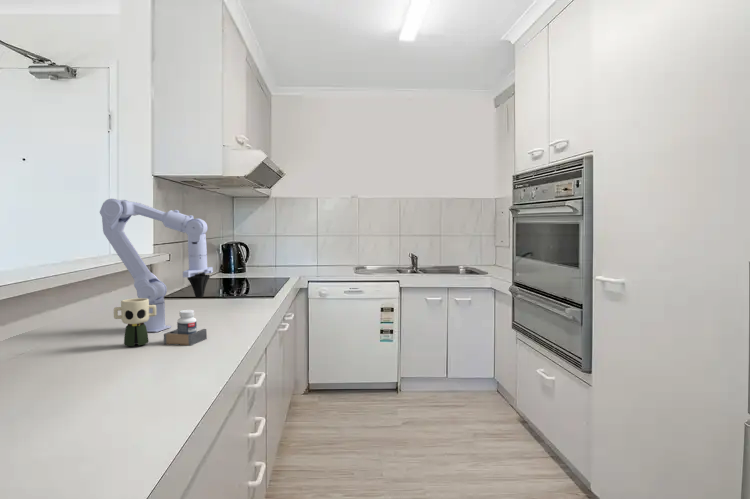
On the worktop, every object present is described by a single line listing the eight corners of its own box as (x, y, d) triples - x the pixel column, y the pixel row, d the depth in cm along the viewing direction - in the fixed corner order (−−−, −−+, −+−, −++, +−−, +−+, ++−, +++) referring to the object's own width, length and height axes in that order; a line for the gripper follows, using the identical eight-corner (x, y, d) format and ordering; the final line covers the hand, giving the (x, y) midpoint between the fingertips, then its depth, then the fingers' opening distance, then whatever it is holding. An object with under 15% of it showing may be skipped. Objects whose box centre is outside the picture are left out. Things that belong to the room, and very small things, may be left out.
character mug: (114, 350, 136) (112, 303, 136) (115, 344, 143) (114, 299, 142) (157, 346, 141) (156, 300, 140) (157, 340, 147) (155, 296, 146)
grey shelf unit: (164, 344, 143) (163, 333, 143) (180, 337, 151) (180, 327, 151) (191, 345, 141) (190, 334, 141) (206, 338, 149) (206, 328, 149)
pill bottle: (189, 344, 143) (188, 313, 142) (173, 342, 144) (173, 312, 144) (200, 339, 148) (199, 309, 147) (185, 338, 149) (184, 308, 149)
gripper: (196, 257, 155) (198, 300, 155) (220, 254, 169) (221, 293, 169) (176, 257, 156) (178, 300, 157) (201, 254, 170) (203, 293, 171)
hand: (199, 297), depth 163 cm, fingers closed
